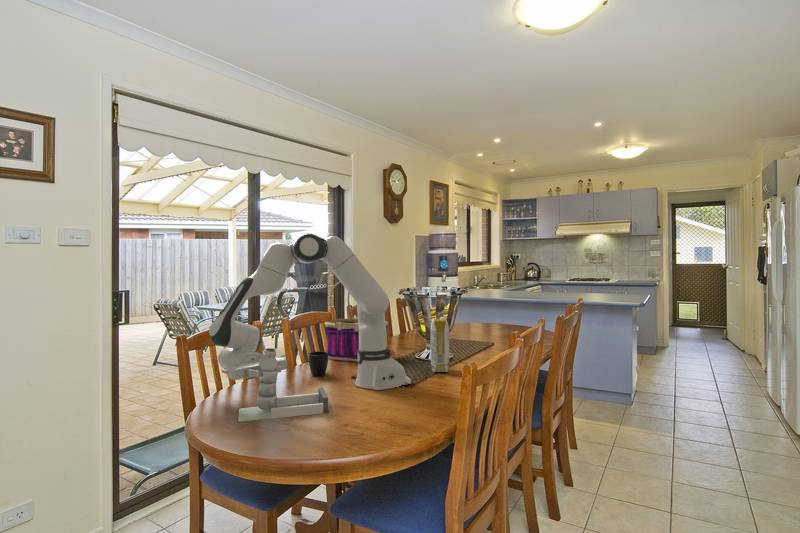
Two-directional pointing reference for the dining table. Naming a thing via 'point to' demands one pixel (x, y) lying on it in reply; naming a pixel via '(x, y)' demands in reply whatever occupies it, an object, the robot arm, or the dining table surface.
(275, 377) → the plastic bottle
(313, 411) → the channel
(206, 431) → the dining table surface
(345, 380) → the dining table surface
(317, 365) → the mug
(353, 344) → the basket
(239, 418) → the pad
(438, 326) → the juice carton
